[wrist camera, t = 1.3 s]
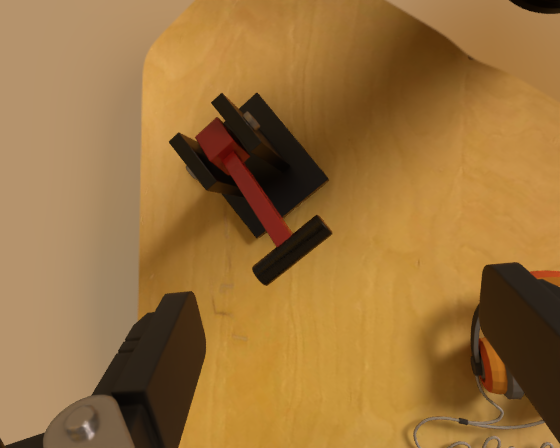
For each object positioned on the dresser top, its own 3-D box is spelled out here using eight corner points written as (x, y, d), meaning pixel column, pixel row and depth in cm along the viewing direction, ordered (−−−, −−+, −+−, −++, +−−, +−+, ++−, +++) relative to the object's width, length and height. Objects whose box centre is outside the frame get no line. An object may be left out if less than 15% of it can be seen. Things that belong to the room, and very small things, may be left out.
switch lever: (338, 238, 22) (325, 226, 20) (274, 289, 23) (255, 282, 21) (248, 121, 29) (231, 102, 27) (200, 164, 29) (180, 149, 27)
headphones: (411, 481, 33) (459, 268, 28) (405, 434, 38) (444, 247, 33) (631, 535, 30) (730, 308, 25) (592, 477, 35) (668, 277, 30)
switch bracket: (329, 180, 37) (317, 160, 24) (259, 237, 38) (213, 247, 26) (259, 96, 38) (213, 35, 25) (194, 154, 39) (120, 125, 27)
